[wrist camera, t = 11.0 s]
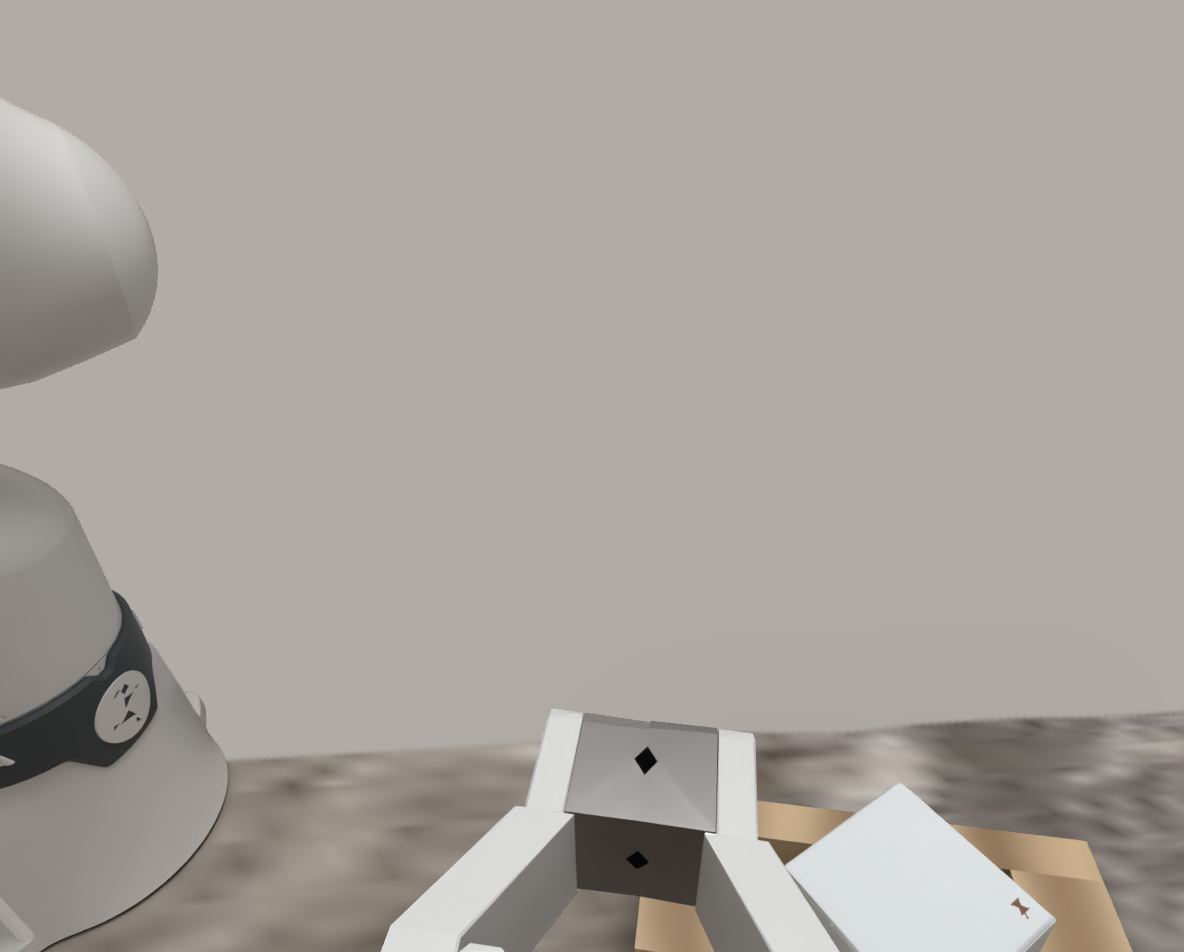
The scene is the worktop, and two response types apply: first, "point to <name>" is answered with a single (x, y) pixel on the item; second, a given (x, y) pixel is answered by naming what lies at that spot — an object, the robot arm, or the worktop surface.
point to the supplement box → (913, 886)
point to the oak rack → (1036, 863)
